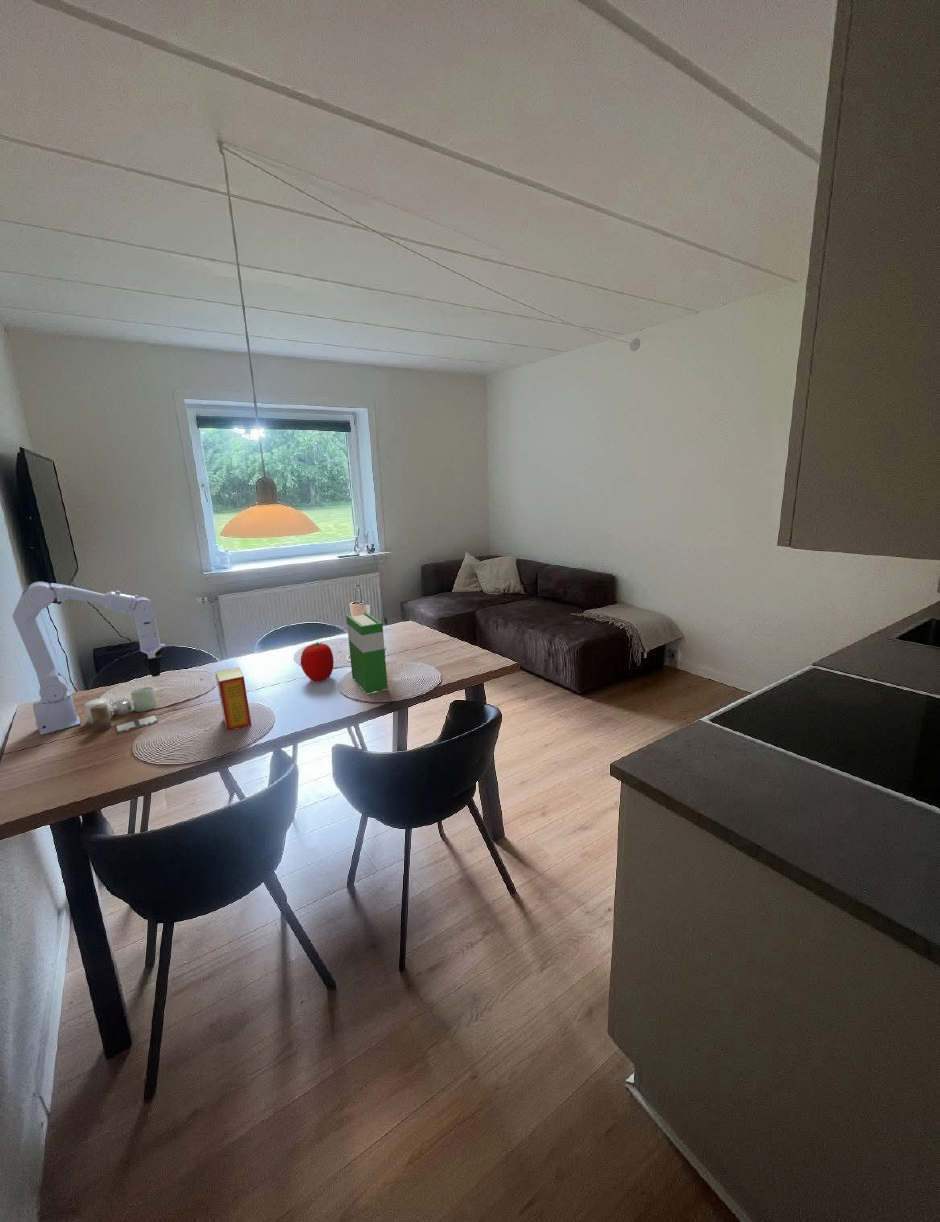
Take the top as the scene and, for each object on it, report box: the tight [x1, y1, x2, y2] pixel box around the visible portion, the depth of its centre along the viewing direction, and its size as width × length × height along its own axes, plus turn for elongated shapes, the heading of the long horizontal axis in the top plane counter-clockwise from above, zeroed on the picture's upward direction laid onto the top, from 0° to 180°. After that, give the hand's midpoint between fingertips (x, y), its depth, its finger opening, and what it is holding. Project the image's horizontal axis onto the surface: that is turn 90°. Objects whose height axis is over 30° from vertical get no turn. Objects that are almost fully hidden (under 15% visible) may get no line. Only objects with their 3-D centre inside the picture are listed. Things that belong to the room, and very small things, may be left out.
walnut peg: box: [90, 704, 113, 733], centre depth 146 cm, size 4×4×7 cm
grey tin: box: [111, 699, 133, 717], centre depth 157 cm, size 5×5×4 cm
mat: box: [115, 714, 159, 734], centre depth 149 cm, size 10×7×1 cm
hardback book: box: [345, 611, 389, 694], centre depth 171 cm, size 18×7×24 cm, turn 29°
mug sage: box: [130, 686, 157, 713], centre depth 160 cm, size 6×8×6 cm
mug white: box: [83, 697, 113, 725], centre depth 153 cm, size 6×8×6 cm
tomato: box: [300, 642, 334, 683], centre depth 178 cm, size 13×11×14 cm
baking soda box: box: [214, 666, 252, 732], centre depth 146 cm, size 10×6×16 cm
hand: (156, 672), depth 164 cm, fingers open, 7 cm apart
